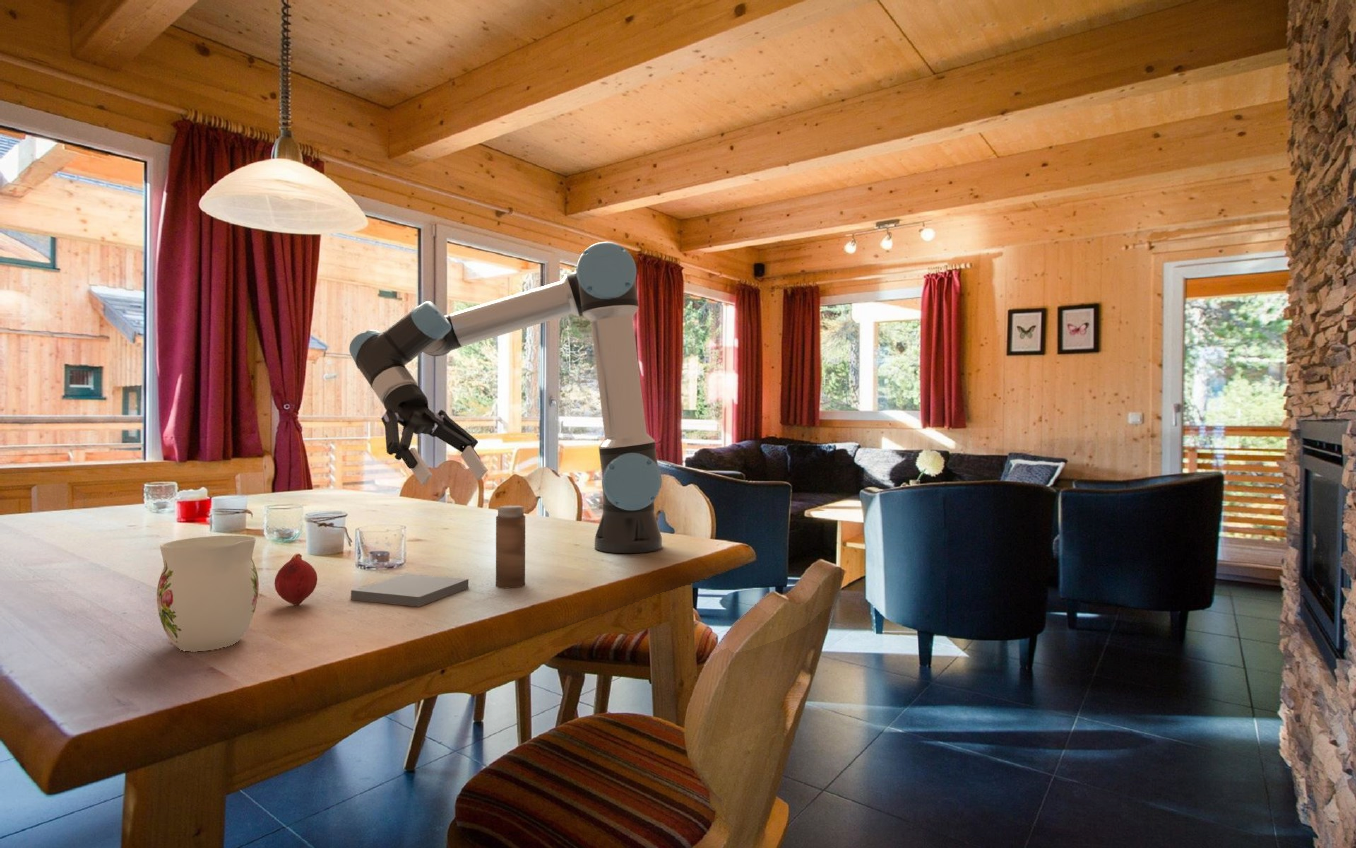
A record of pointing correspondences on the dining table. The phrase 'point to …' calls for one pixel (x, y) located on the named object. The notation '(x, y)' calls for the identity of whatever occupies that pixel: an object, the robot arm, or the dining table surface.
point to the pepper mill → (510, 547)
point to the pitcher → (207, 591)
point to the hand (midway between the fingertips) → (456, 477)
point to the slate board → (410, 589)
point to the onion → (295, 580)
